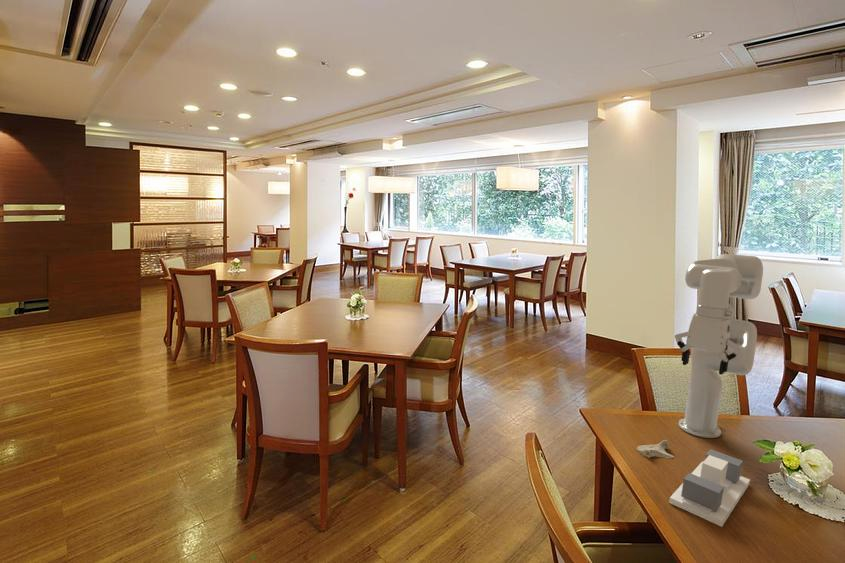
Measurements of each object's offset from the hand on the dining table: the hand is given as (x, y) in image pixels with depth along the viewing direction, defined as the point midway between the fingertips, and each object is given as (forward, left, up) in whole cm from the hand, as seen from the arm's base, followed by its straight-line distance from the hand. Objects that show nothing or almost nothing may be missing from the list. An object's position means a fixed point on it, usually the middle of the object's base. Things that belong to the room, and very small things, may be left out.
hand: (703, 368), depth 141 cm
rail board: (+16, +10, -28) cm, 34 cm away
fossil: (+5, -8, -29) cm, 30 cm away
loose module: (+16, +10, -26) cm, 32 cm away
